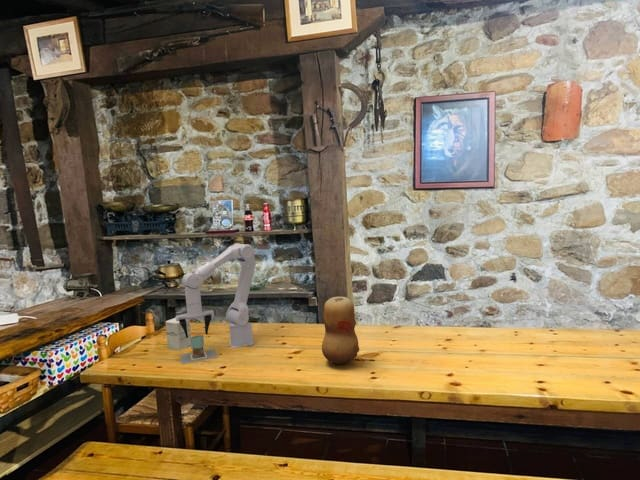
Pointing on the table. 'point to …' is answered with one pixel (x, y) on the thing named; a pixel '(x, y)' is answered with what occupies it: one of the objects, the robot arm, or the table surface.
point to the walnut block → (198, 352)
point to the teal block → (197, 341)
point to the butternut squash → (339, 331)
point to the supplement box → (177, 334)
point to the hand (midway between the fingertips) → (196, 335)
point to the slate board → (189, 358)
